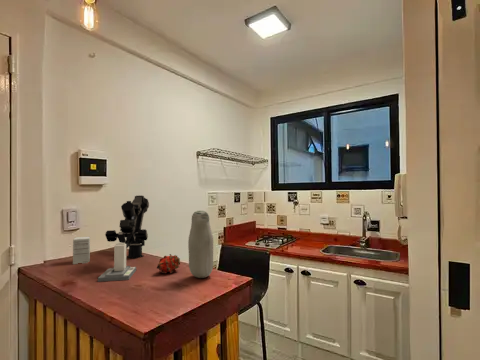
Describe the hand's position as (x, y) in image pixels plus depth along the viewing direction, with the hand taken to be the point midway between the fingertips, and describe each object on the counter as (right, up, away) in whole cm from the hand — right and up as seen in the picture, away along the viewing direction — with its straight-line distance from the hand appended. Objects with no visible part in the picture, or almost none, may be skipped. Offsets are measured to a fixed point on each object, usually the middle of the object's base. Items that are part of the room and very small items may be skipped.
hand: (123, 250), depth 127 cm
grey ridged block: (-29, -10, +15) cm, 34 cm away
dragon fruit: (+22, -9, -5) cm, 25 cm away
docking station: (+1, -9, -9) cm, 13 cm away
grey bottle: (+38, -8, -12) cm, 41 cm away
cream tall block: (+1, -7, -6) cm, 9 cm away
